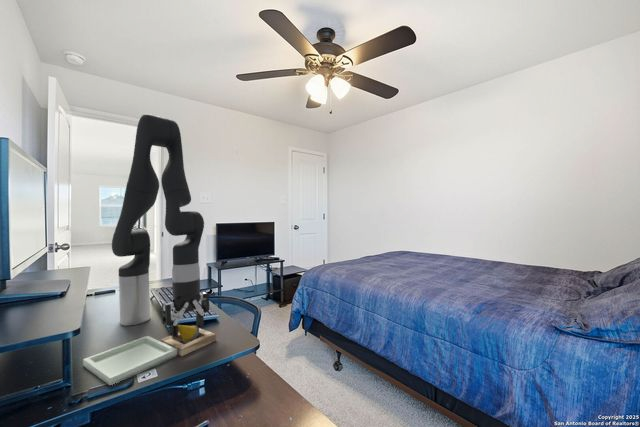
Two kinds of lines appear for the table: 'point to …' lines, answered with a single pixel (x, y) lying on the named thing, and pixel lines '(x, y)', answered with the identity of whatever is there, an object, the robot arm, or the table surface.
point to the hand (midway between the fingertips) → (187, 332)
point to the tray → (129, 359)
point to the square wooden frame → (186, 348)
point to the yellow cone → (188, 332)
